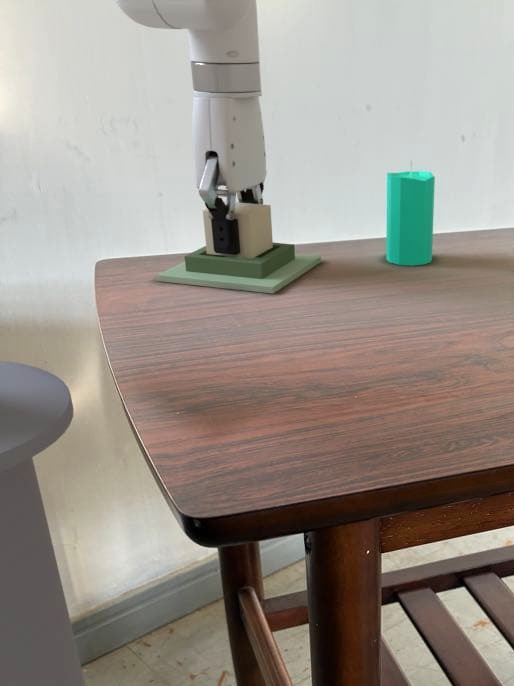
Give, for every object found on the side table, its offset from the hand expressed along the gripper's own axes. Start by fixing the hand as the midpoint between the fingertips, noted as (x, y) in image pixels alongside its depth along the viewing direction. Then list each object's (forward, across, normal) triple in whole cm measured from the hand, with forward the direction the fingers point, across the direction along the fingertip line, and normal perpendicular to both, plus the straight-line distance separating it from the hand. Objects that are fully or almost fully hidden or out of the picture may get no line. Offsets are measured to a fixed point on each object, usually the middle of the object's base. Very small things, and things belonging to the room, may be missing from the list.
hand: (239, 245), depth 106 cm
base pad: (+3, 0, 0) cm, 3 cm away
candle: (+3, -13, +18) cm, 22 cm away
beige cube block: (+1, 0, 0) cm, 1 cm away
